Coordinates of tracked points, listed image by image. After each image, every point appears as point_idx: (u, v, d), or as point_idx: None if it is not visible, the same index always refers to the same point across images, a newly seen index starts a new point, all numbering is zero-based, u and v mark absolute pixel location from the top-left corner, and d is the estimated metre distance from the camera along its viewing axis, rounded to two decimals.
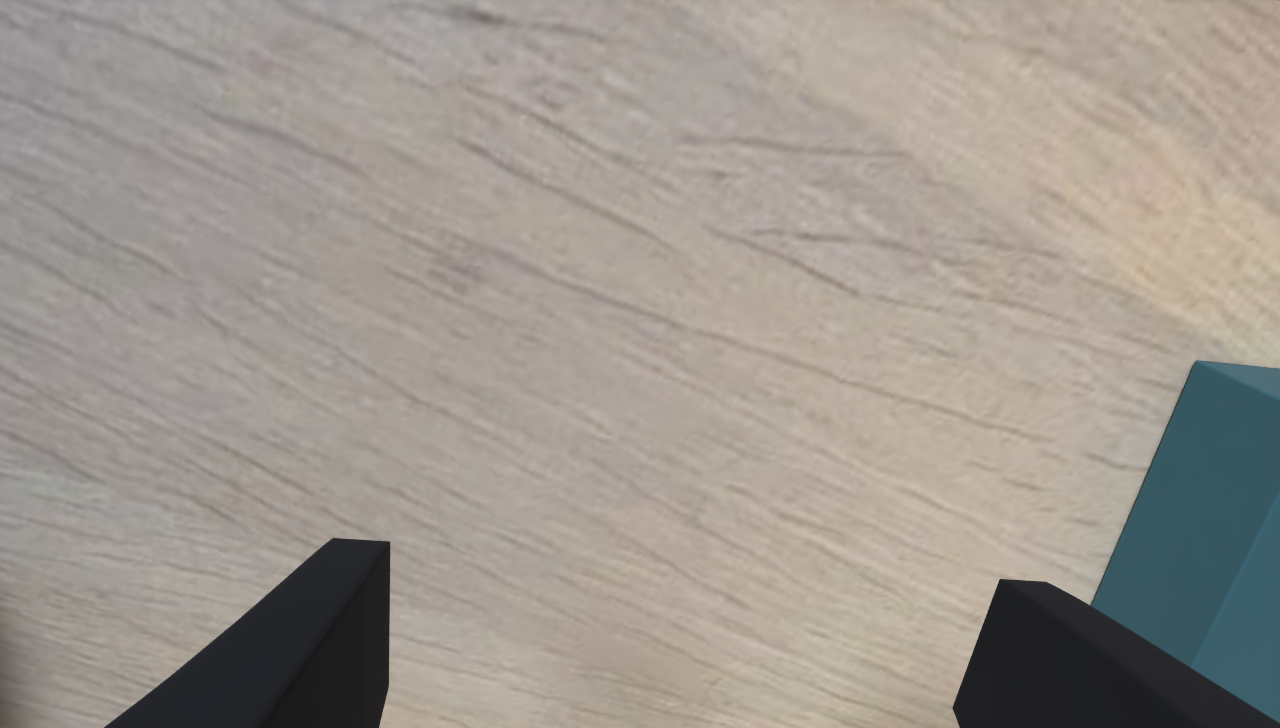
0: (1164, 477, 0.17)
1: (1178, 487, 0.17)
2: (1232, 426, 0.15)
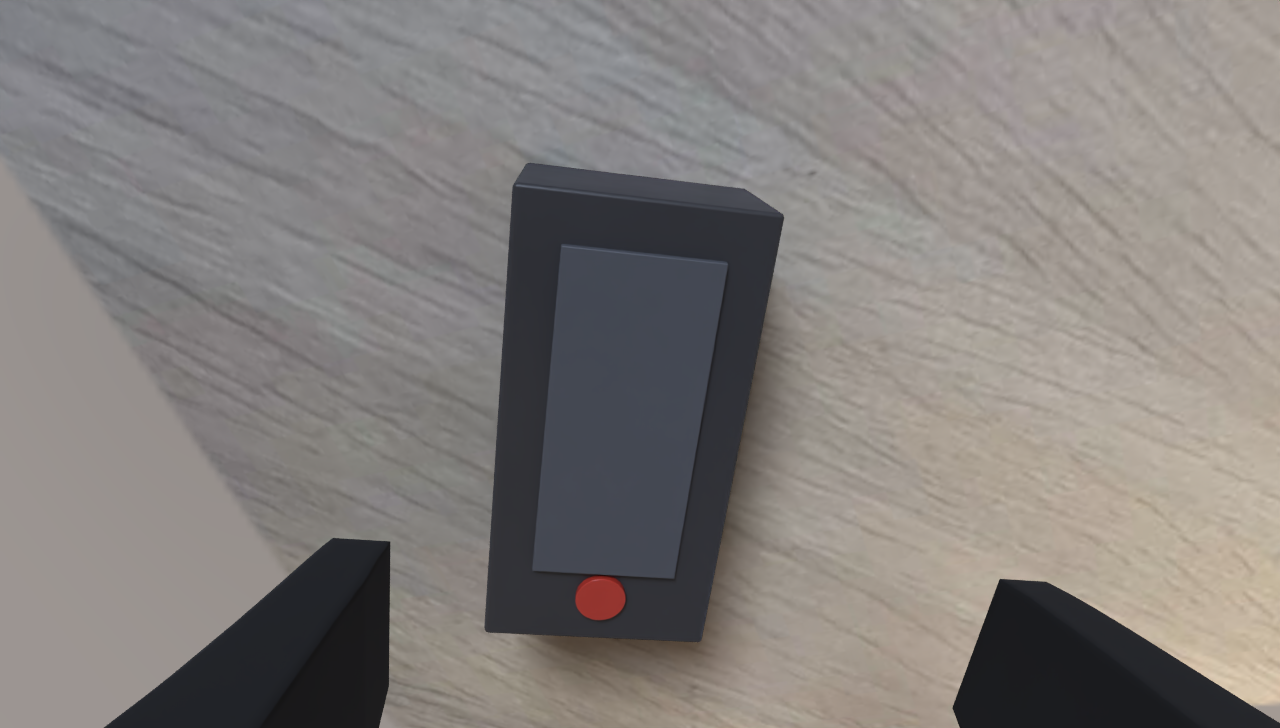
0: None
1: None
2: None
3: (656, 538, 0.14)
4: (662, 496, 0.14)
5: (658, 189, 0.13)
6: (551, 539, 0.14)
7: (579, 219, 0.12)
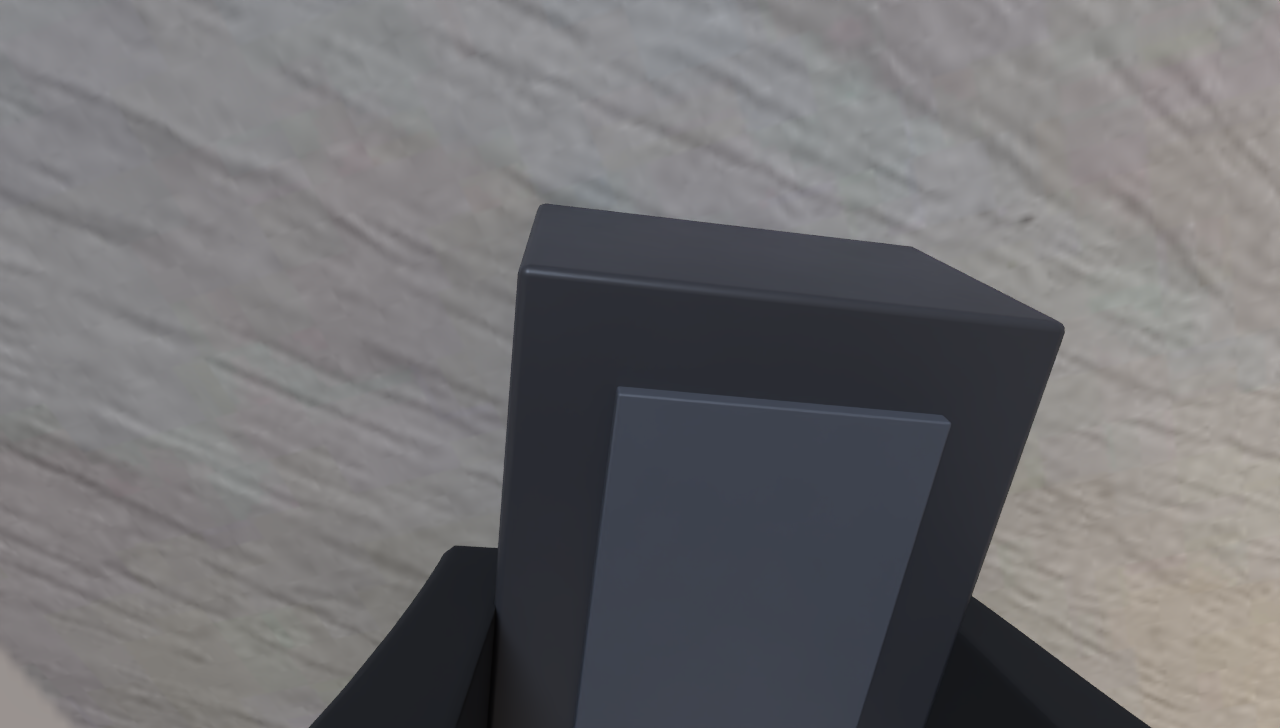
0: None
1: None
2: None
3: None
4: None
5: (794, 263, 0.07)
6: None
7: (655, 339, 0.06)
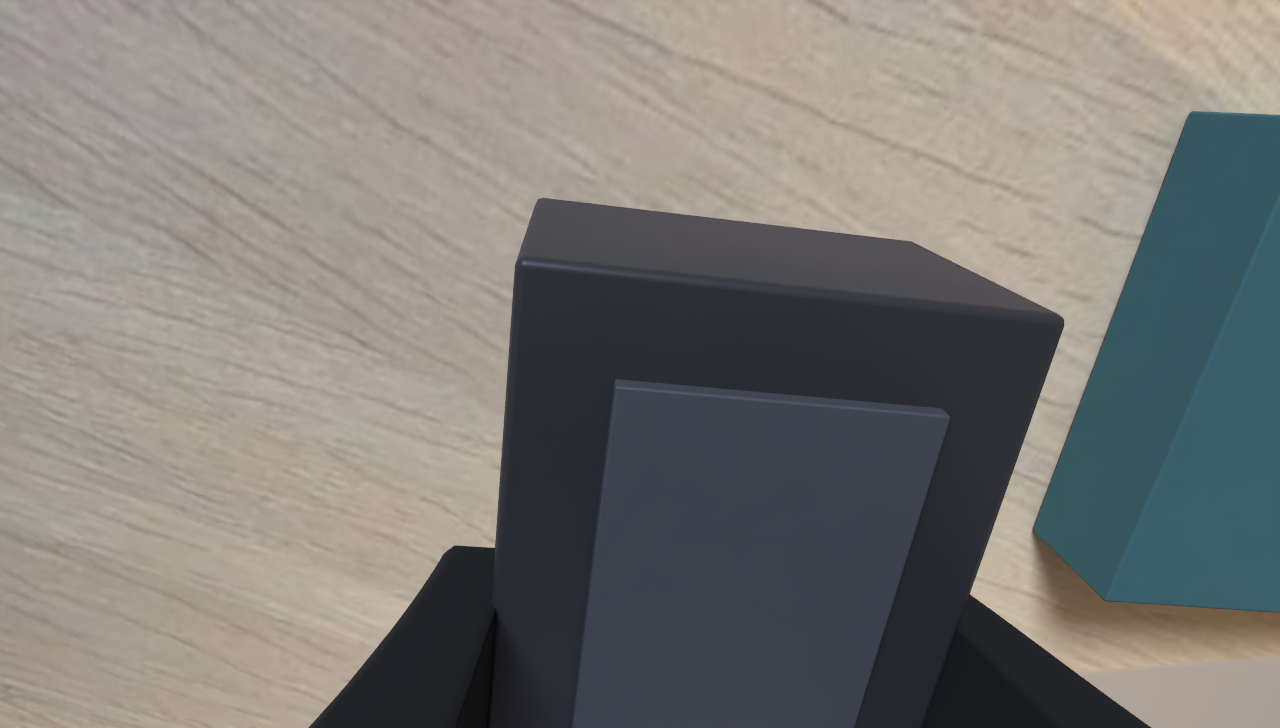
0: (1158, 238, 0.17)
1: (1172, 242, 0.16)
2: (1226, 161, 0.15)
3: None
4: None
5: (793, 256, 0.07)
6: None
7: (652, 332, 0.06)
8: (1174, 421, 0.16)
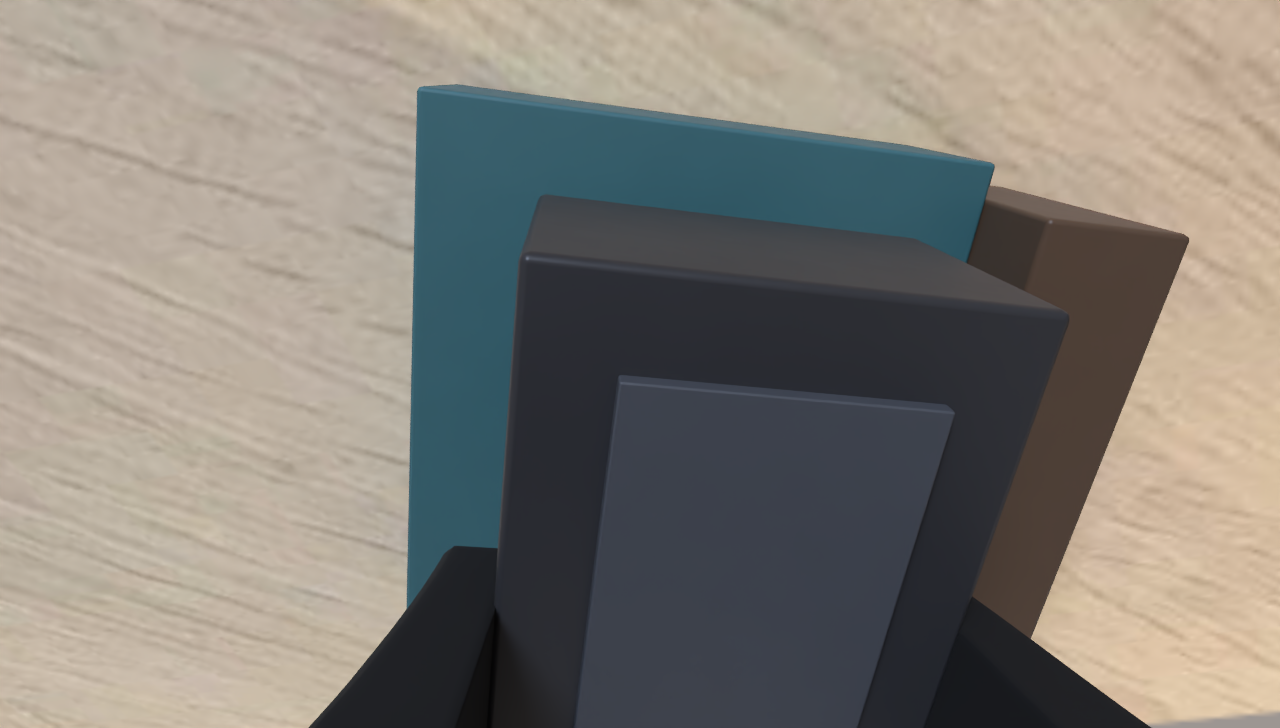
0: None
1: None
2: None
3: None
4: None
5: (796, 252, 0.07)
6: None
7: (656, 326, 0.06)
8: (410, 504, 0.12)
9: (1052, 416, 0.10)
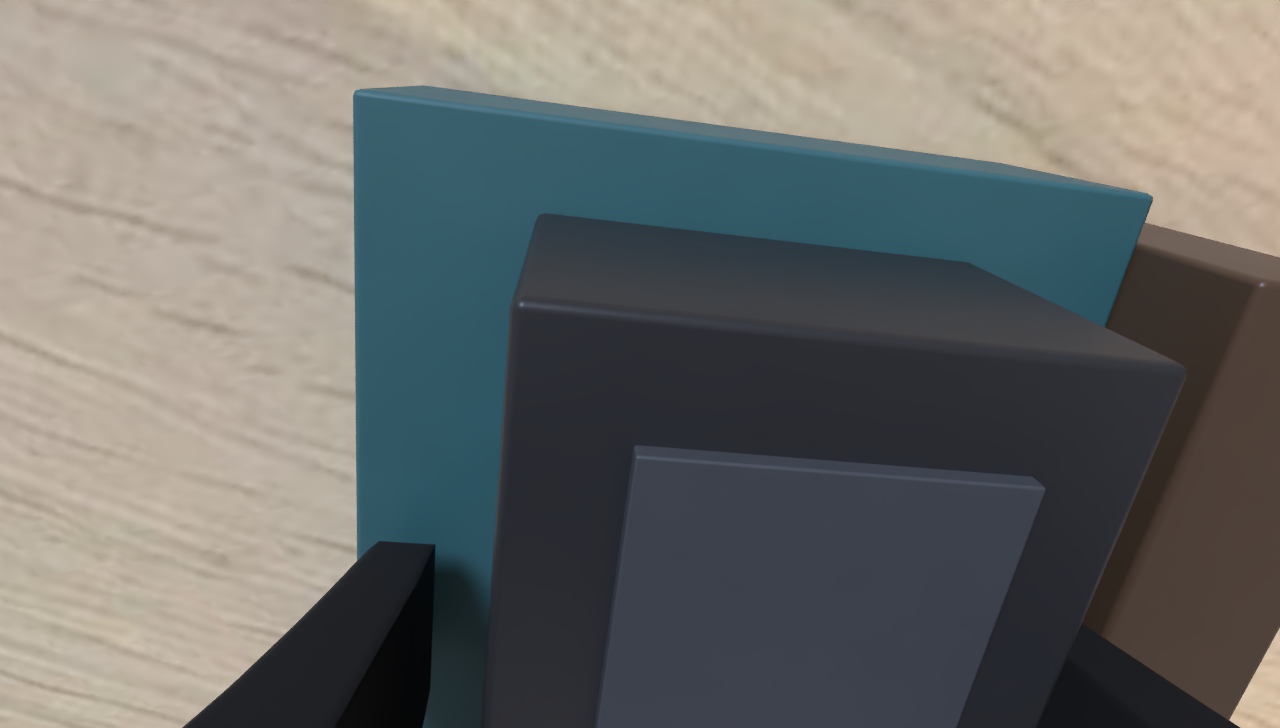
0: None
1: None
2: None
3: None
4: None
5: (844, 287, 0.06)
6: None
7: (682, 386, 0.05)
8: None
9: (1236, 545, 0.07)
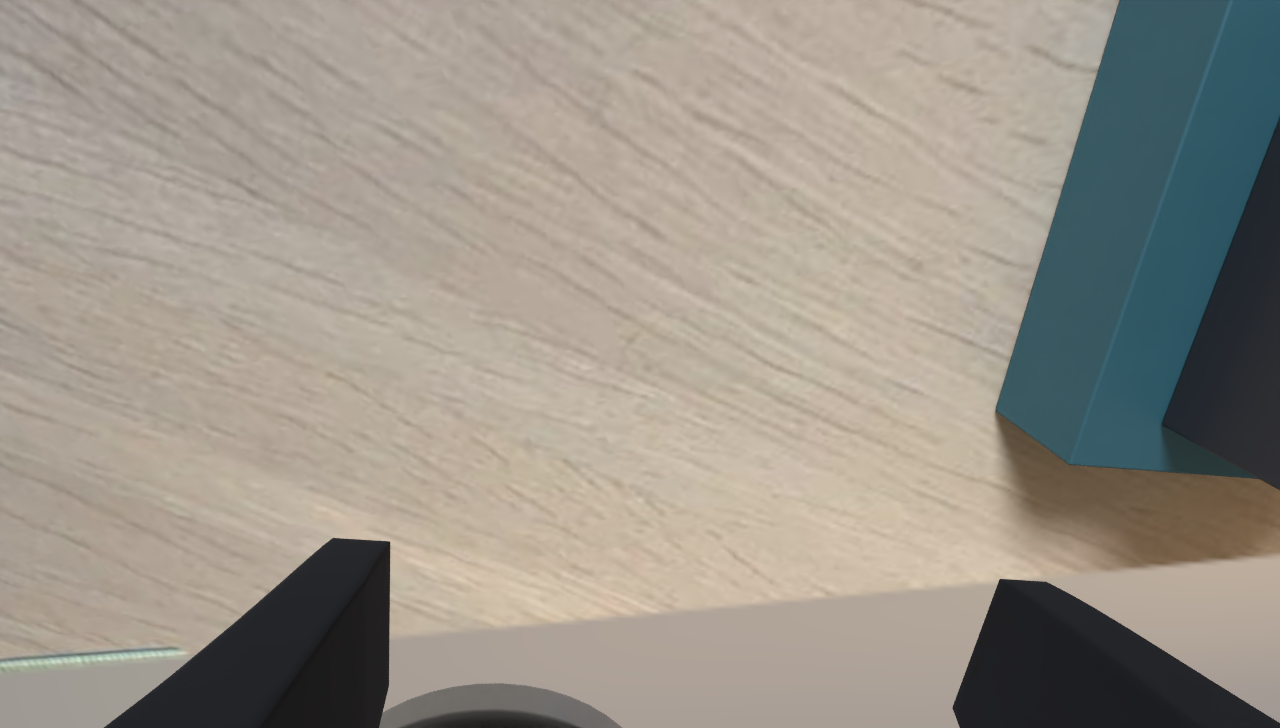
0: (1114, 65, 0.16)
1: (1128, 64, 0.15)
2: None
3: None
4: None
5: None
6: None
7: None
8: (1135, 252, 0.15)
9: None
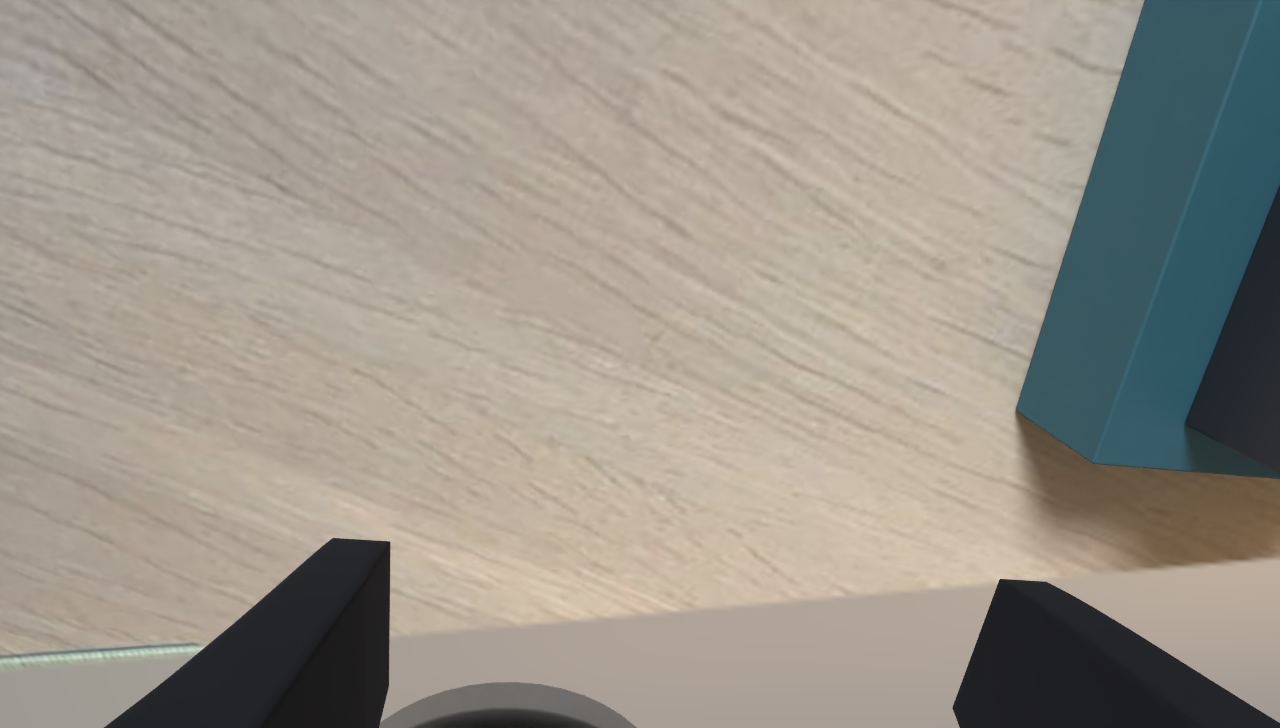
0: (1139, 67, 0.16)
1: (1153, 66, 0.15)
2: None
3: None
4: None
5: None
6: None
7: None
8: (1161, 251, 0.15)
9: None
